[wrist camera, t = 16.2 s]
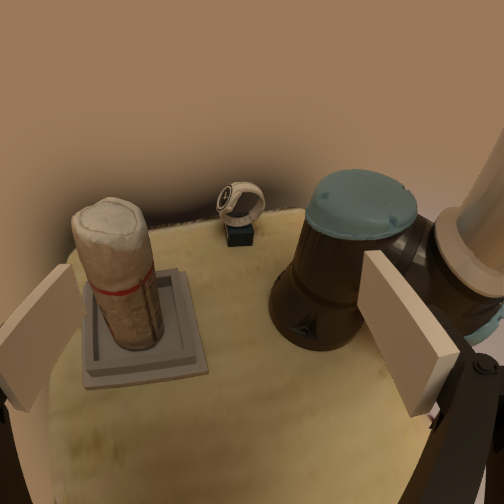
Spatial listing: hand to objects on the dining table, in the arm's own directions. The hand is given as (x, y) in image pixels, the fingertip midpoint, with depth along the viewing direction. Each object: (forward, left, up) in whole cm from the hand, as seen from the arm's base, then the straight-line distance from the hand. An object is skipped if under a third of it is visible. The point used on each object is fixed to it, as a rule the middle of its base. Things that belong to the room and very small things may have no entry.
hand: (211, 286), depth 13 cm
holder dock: (+7, -16, -29) cm, 34 cm away
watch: (-12, -32, -30) cm, 45 cm away
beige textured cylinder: (+7, -16, -28) cm, 33 cm away
